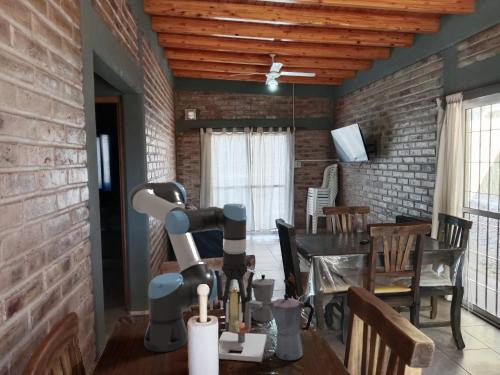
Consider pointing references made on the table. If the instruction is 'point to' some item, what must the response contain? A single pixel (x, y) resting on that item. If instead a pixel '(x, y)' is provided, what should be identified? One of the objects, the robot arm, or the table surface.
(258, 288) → the coffeepot
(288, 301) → the moka pot
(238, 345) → the base
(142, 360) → the table surface
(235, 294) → the hook peg
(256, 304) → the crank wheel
